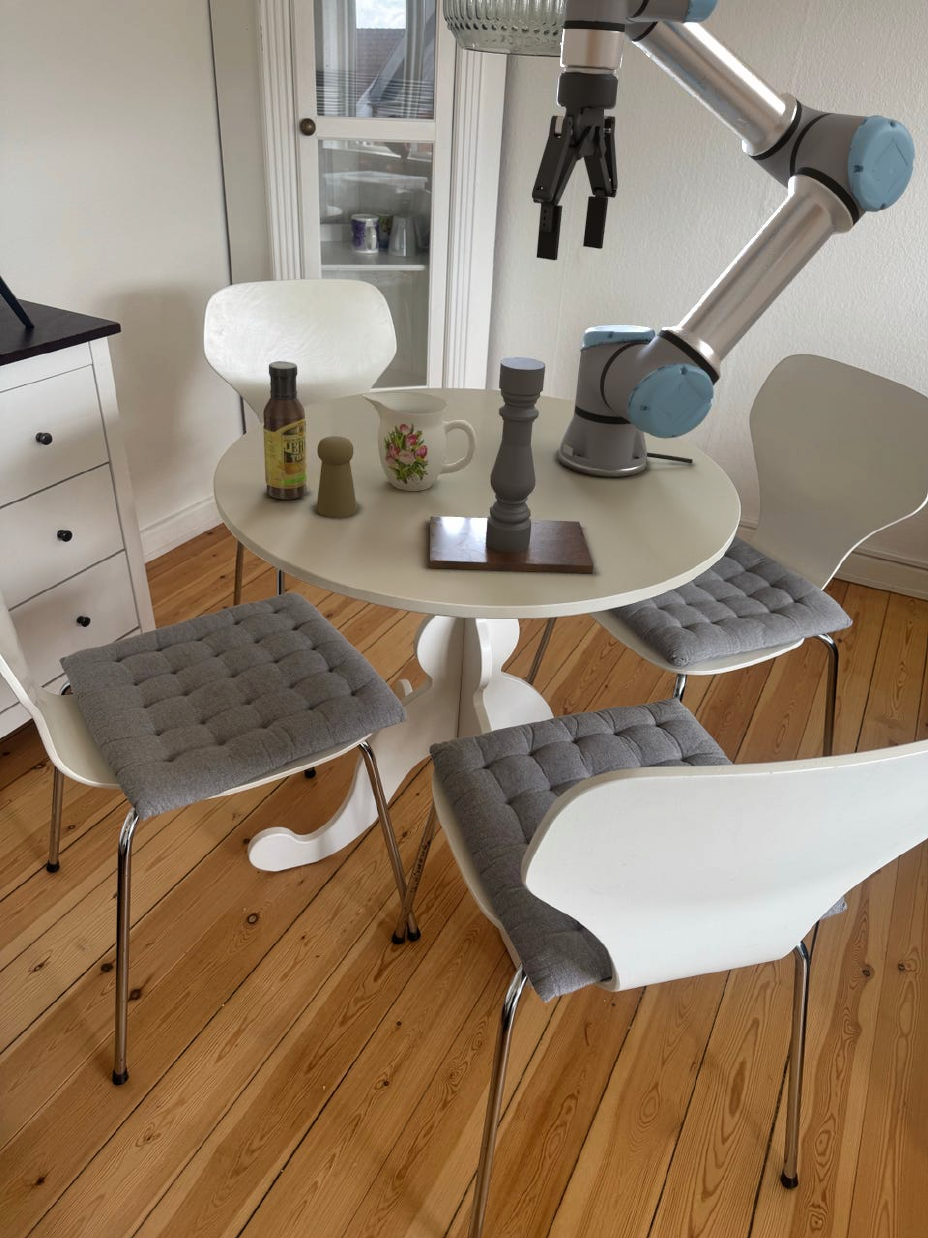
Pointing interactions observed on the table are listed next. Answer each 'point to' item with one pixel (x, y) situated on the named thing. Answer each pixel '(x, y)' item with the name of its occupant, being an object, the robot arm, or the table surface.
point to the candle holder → (515, 455)
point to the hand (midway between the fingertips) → (570, 252)
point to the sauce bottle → (284, 435)
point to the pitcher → (416, 438)
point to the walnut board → (547, 552)
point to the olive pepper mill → (336, 478)
